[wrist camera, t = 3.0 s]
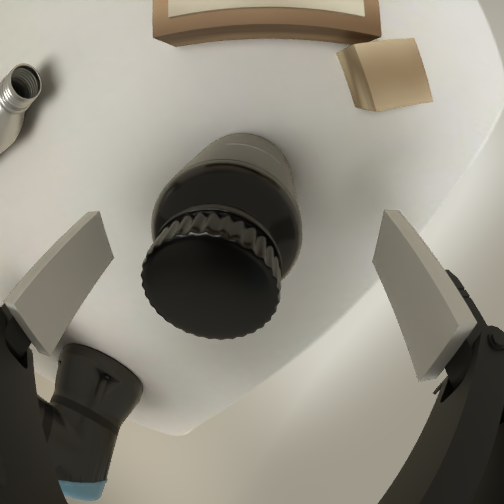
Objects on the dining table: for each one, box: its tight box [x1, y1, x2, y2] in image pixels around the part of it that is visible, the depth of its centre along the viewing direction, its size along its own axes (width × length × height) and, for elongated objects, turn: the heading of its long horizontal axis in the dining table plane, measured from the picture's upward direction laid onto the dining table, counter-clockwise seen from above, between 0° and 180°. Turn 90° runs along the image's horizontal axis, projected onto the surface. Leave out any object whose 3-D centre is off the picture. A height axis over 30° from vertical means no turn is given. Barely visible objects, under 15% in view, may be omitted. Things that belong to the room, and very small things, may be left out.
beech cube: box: [336, 38, 433, 112], centre depth 12 cm, size 4×4×4 cm
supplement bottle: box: [141, 134, 302, 340], centre depth 14 cm, size 7×7×12 cm
